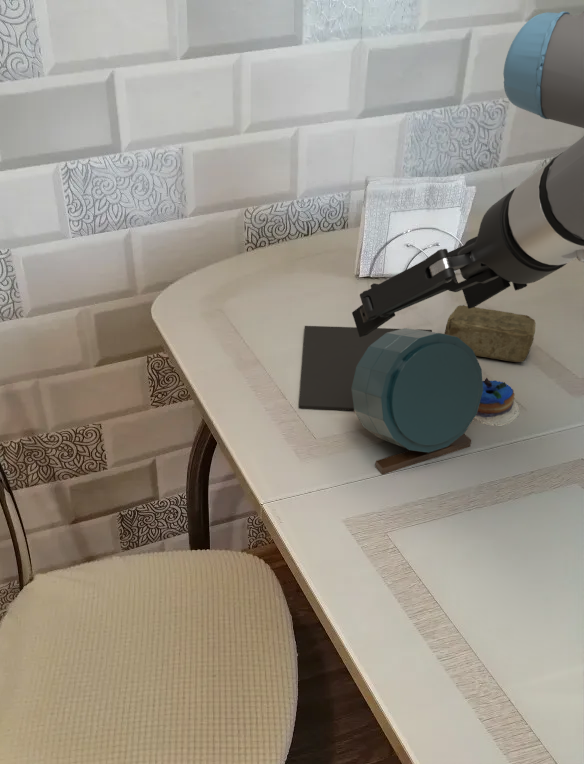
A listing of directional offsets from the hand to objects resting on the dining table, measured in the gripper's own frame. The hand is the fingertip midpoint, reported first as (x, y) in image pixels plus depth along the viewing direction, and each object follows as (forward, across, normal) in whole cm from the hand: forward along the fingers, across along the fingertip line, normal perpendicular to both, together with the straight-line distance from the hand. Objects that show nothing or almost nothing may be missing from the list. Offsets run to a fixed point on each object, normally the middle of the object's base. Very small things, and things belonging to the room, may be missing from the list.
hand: (414, 310), depth 85 cm
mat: (+22, +5, -2) cm, 22 cm away
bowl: (+2, +1, -9) cm, 10 cm away
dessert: (+11, +12, -12) cm, 21 cm away
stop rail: (+8, 0, -16) cm, 18 cm away
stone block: (+20, +22, -4) cm, 30 cm away
